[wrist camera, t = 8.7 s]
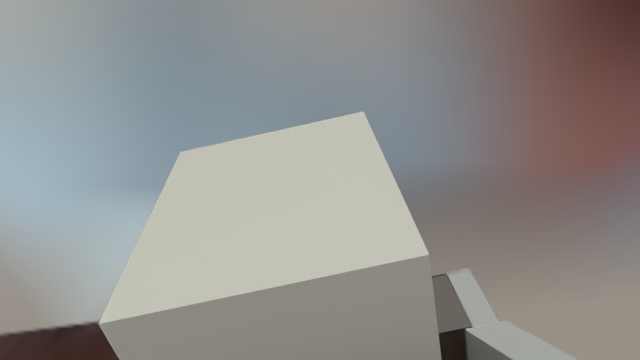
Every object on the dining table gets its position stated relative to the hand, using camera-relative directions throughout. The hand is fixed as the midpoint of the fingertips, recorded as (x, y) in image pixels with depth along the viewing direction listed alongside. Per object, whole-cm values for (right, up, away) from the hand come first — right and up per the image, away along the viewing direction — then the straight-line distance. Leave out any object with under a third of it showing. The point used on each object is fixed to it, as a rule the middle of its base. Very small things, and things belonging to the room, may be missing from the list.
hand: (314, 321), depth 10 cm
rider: (+1, -6, +2) cm, 6 cm away
